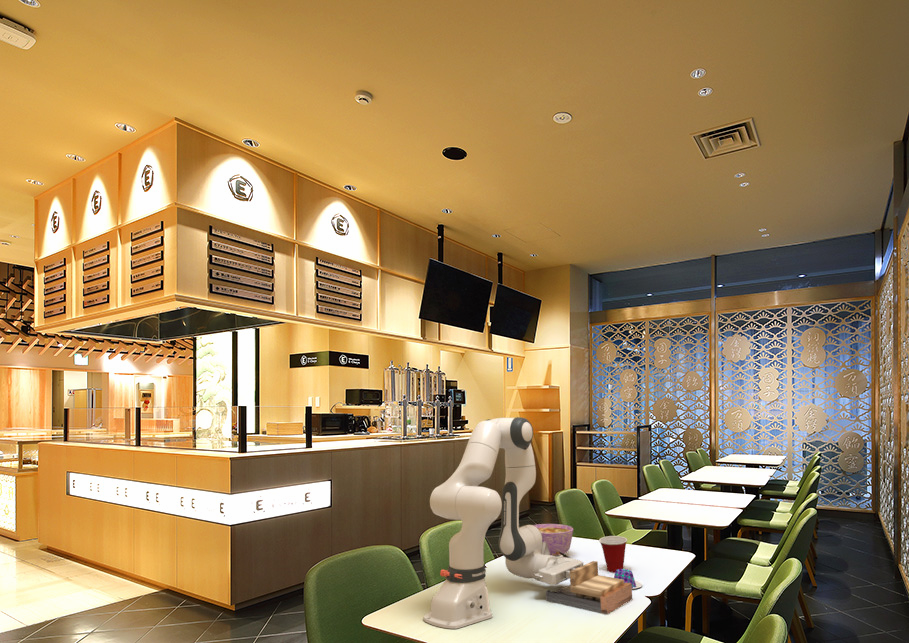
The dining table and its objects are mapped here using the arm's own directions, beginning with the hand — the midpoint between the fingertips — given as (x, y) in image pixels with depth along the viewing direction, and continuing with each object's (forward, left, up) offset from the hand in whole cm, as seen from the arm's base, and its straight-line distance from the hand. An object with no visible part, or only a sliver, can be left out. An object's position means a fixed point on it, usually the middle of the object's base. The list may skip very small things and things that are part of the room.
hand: (582, 575), depth 200 cm
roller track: (0, -2, -7) cm, 8 cm away
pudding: (+22, -4, -8) cm, 24 cm away
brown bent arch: (+24, +24, -8) cm, 35 cm away
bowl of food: (+42, +39, -8) cm, 58 cm away
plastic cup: (+37, +7, -8) cm, 38 cm away
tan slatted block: (0, -6, -6) cm, 8 cm away
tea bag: (+25, +33, -8) cm, 42 cm away
